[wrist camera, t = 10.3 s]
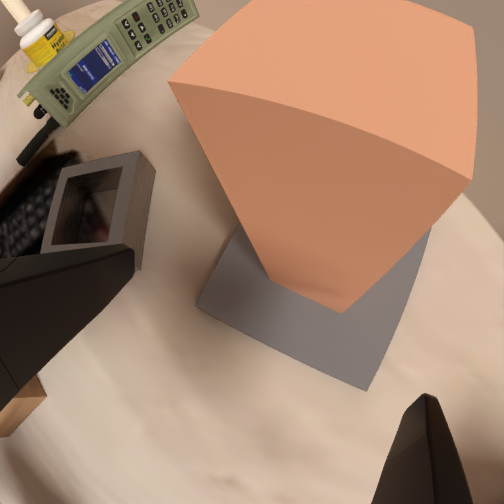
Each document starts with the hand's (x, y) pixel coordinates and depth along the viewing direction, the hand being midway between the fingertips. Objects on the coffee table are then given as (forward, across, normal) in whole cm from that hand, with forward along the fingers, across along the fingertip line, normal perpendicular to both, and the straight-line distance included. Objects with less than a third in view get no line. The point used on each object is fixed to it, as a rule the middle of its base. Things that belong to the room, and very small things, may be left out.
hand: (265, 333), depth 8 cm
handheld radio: (+16, +26, -4) cm, 31 cm away
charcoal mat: (+9, 0, +3) cm, 9 cm away
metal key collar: (+4, +16, +8) cm, 18 cm away
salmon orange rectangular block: (+9, 0, +2) cm, 9 cm away
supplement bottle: (+17, +40, -6) cm, 44 cm away
